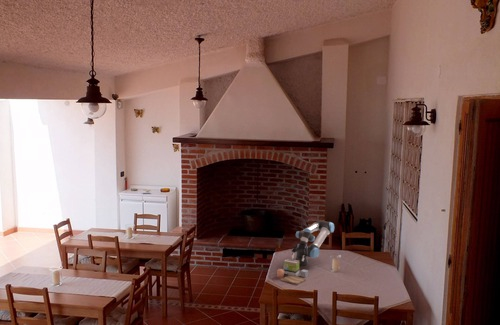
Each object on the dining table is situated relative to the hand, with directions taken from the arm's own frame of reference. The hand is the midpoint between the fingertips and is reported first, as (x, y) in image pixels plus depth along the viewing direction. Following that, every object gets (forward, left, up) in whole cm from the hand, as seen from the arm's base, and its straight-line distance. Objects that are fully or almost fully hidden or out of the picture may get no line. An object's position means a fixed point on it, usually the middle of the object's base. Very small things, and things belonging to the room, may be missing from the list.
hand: (297, 259), depth 488 cm
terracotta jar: (+21, -7, -15) cm, 27 cm away
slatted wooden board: (+20, +9, -15) cm, 27 cm away
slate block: (+2, +11, -15) cm, 19 cm away
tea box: (+5, -4, -16) cm, 17 cm away
